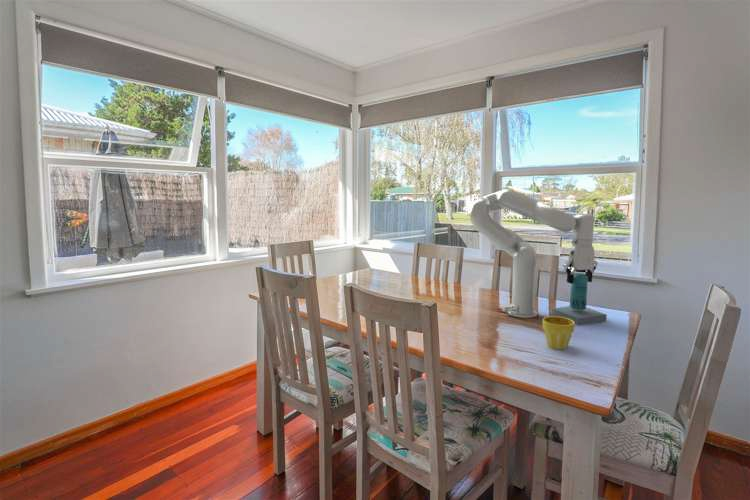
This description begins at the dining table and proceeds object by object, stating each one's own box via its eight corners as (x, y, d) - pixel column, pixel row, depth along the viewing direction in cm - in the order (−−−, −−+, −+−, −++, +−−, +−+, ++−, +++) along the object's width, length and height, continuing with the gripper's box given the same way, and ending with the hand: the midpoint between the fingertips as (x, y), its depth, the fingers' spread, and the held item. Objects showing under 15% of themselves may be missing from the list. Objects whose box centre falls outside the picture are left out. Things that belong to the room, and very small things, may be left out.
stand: (577, 325, 166) (577, 318, 165) (552, 314, 180) (552, 308, 179) (606, 321, 170) (606, 314, 169) (579, 311, 184) (579, 305, 184)
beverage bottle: (566, 309, 177) (568, 265, 174) (580, 308, 178) (583, 264, 175) (574, 314, 171) (577, 268, 168) (589, 313, 171) (592, 267, 168)
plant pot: (560, 354, 137) (561, 327, 136) (535, 344, 147) (536, 318, 145) (579, 348, 142) (581, 322, 141) (554, 339, 151) (555, 314, 150)
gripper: (572, 245, 164) (569, 285, 167) (605, 243, 169) (602, 282, 171) (559, 242, 171) (556, 281, 174) (591, 241, 176) (588, 279, 179)
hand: (579, 282), depth 173 cm, fingers open, 9 cm apart
